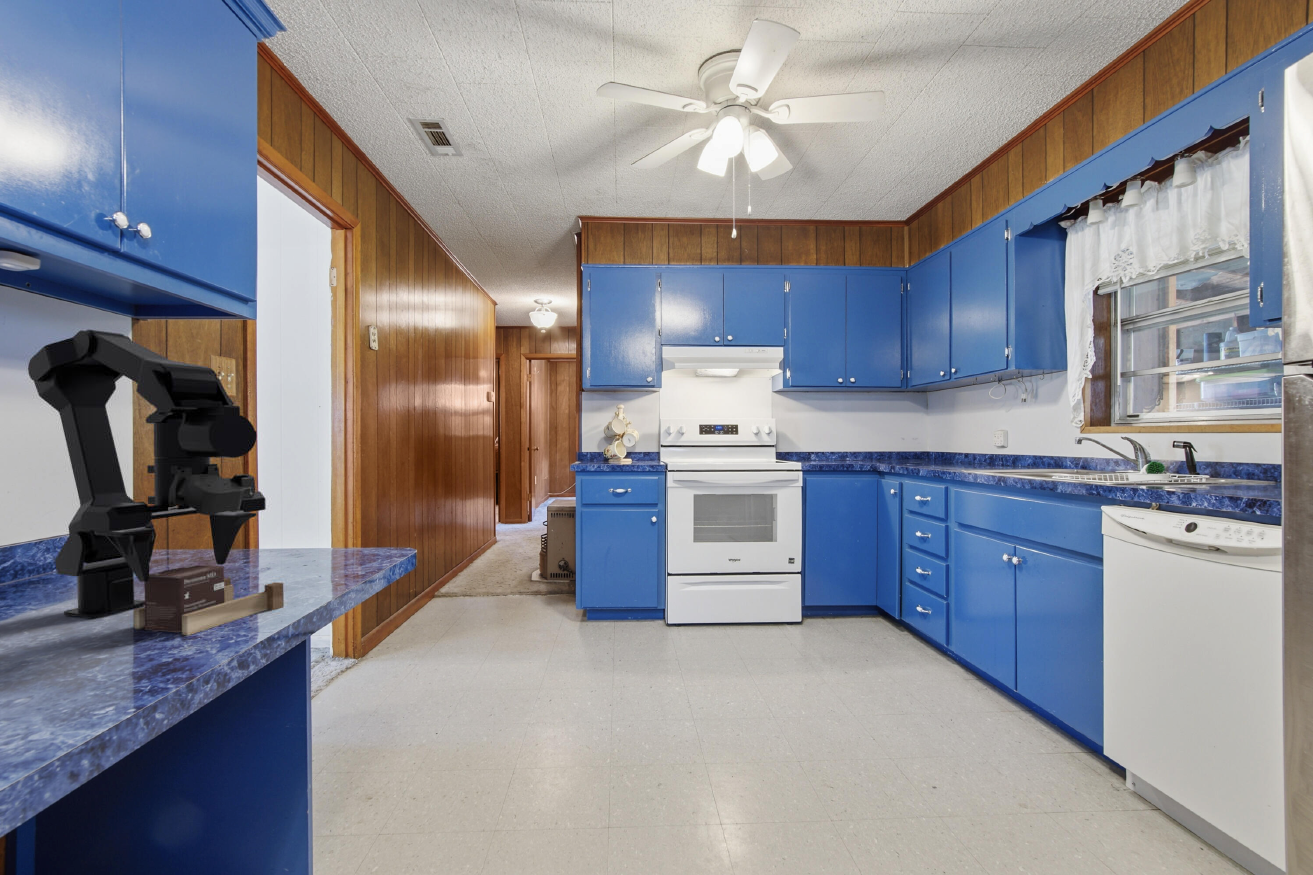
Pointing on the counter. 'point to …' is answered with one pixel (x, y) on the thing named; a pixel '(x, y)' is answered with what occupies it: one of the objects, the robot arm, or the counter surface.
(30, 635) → the counter surface
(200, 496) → the robot arm
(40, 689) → the counter surface
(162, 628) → the box
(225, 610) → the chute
